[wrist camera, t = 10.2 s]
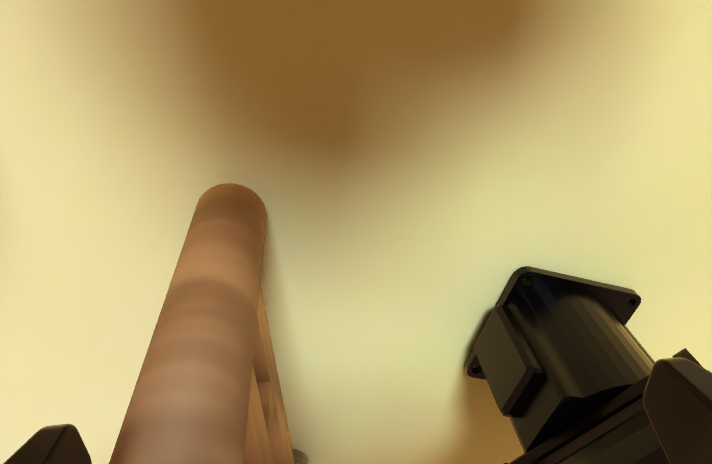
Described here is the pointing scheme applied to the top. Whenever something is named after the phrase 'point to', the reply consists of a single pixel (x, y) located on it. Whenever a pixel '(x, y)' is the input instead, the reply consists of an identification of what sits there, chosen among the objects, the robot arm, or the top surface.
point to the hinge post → (299, 457)
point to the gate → (211, 351)
